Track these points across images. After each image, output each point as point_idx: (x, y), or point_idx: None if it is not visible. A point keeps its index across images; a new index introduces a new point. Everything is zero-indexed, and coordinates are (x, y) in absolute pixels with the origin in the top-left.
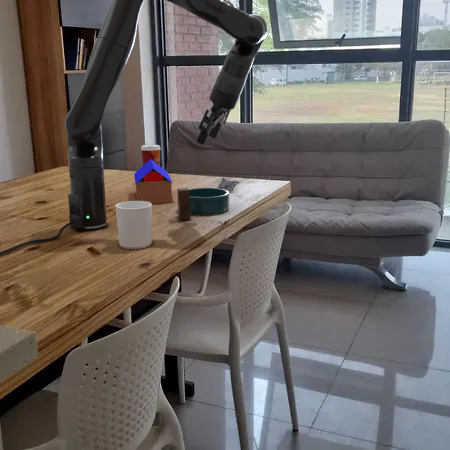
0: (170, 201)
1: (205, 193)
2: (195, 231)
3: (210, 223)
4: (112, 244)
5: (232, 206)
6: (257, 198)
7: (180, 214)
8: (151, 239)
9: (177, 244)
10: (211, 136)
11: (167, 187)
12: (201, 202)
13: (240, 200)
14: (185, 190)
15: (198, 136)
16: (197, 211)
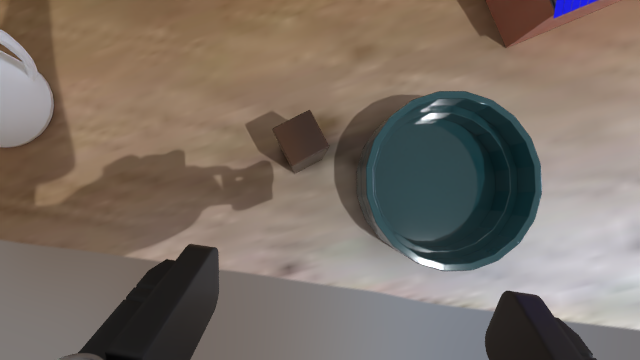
0: (506, 42)
1: (518, 162)
2: (175, 225)
3: (271, 243)
4: None
5: None
6: (623, 310)
7: (279, 145)
8: (5, 145)
9: (35, 215)
10: (497, 316)
11: (535, 9)
12: (362, 192)
13: (582, 261)
14: (284, 151)
15: (163, 277)
16: (357, 178)
